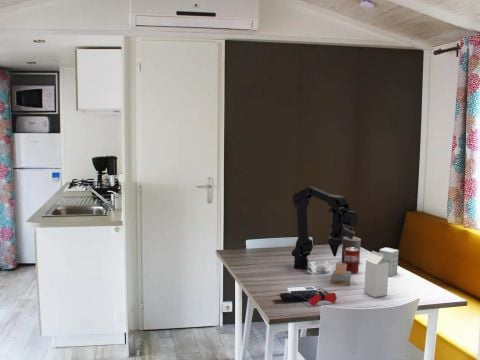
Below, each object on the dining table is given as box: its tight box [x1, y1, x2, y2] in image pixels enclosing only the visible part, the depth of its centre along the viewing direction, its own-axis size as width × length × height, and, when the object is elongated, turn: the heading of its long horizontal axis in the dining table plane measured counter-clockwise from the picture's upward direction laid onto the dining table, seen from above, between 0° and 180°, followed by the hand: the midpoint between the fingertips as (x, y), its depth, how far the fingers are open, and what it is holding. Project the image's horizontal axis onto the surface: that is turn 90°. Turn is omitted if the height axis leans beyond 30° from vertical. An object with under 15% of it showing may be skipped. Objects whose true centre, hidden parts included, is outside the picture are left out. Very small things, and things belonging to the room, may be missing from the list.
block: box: [334, 262, 347, 275], centre depth 239 cm, size 5×5×4 cm
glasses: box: [296, 288, 338, 307], centre depth 216 cm, size 14×16×5 cm
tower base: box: [329, 275, 352, 287], centre depth 239 cm, size 9×9×2 cm
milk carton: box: [363, 250, 389, 298], centre depth 223 cm, size 7×7×19 cm
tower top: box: [331, 269, 352, 282], centre depth 239 cm, size 8×8×2 cm
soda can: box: [344, 248, 360, 275], centre depth 255 cm, size 7×7×12 cm
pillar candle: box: [340, 236, 362, 264], centre depth 271 cm, size 10×10×15 cm
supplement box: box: [378, 246, 400, 277], centre depth 253 cm, size 7×7×13 cm
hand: (335, 253), depth 242 cm, fingers open, 9 cm apart
